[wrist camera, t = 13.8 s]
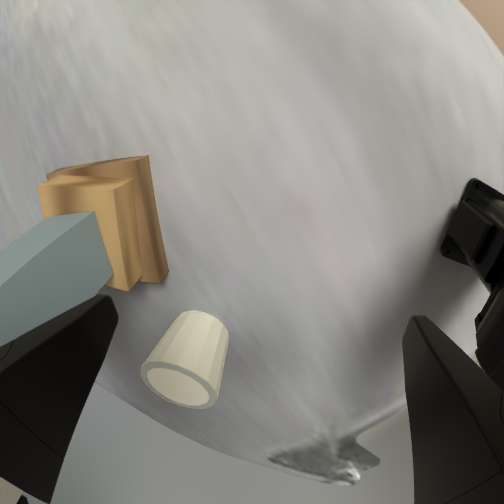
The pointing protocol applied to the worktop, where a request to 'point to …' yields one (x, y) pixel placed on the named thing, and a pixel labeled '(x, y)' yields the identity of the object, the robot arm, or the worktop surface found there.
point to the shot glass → (188, 361)
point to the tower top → (101, 218)
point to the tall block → (50, 272)
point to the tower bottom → (144, 204)
